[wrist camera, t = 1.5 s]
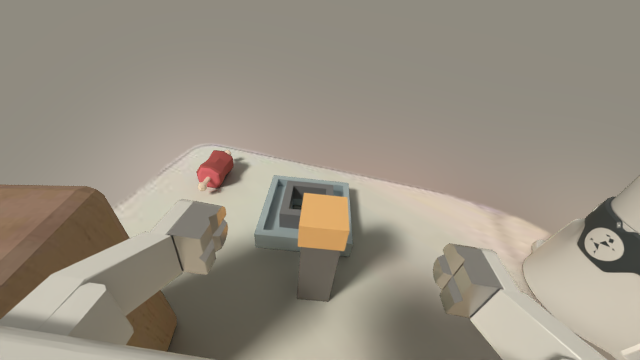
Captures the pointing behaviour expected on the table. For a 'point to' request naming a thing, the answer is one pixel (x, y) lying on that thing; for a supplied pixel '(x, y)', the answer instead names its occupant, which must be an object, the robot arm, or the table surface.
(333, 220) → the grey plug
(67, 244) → the wooden block
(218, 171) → the meat
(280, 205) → the box
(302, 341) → the table surface
